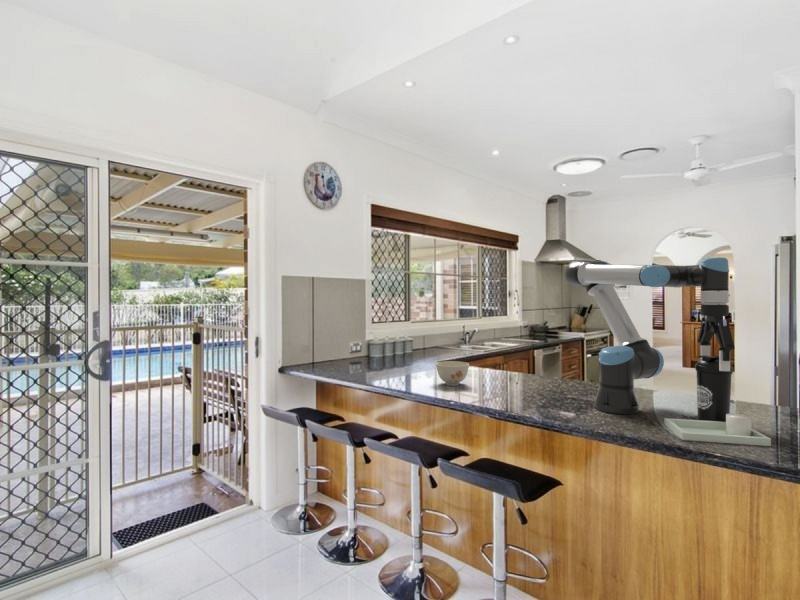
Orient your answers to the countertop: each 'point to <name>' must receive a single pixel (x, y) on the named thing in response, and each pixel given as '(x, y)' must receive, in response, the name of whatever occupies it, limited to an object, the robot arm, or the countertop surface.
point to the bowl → (452, 371)
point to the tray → (712, 432)
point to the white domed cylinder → (738, 424)
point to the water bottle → (712, 389)
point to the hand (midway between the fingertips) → (714, 367)
